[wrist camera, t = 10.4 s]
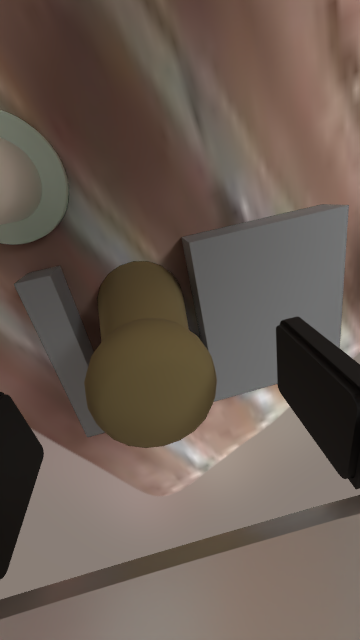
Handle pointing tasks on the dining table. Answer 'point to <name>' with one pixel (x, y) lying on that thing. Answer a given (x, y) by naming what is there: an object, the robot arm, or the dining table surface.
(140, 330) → the cork
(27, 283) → the gray block
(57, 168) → the bobbin post
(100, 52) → the dining table surface
